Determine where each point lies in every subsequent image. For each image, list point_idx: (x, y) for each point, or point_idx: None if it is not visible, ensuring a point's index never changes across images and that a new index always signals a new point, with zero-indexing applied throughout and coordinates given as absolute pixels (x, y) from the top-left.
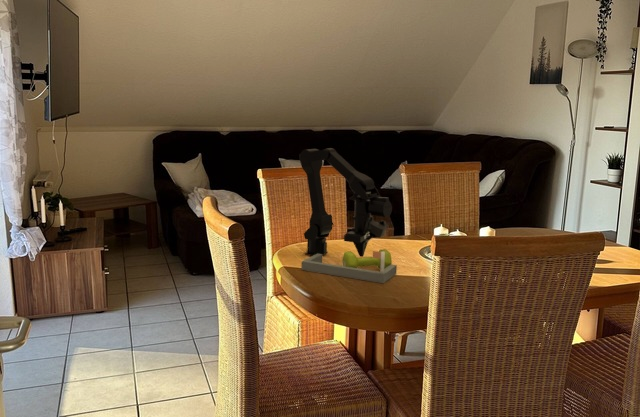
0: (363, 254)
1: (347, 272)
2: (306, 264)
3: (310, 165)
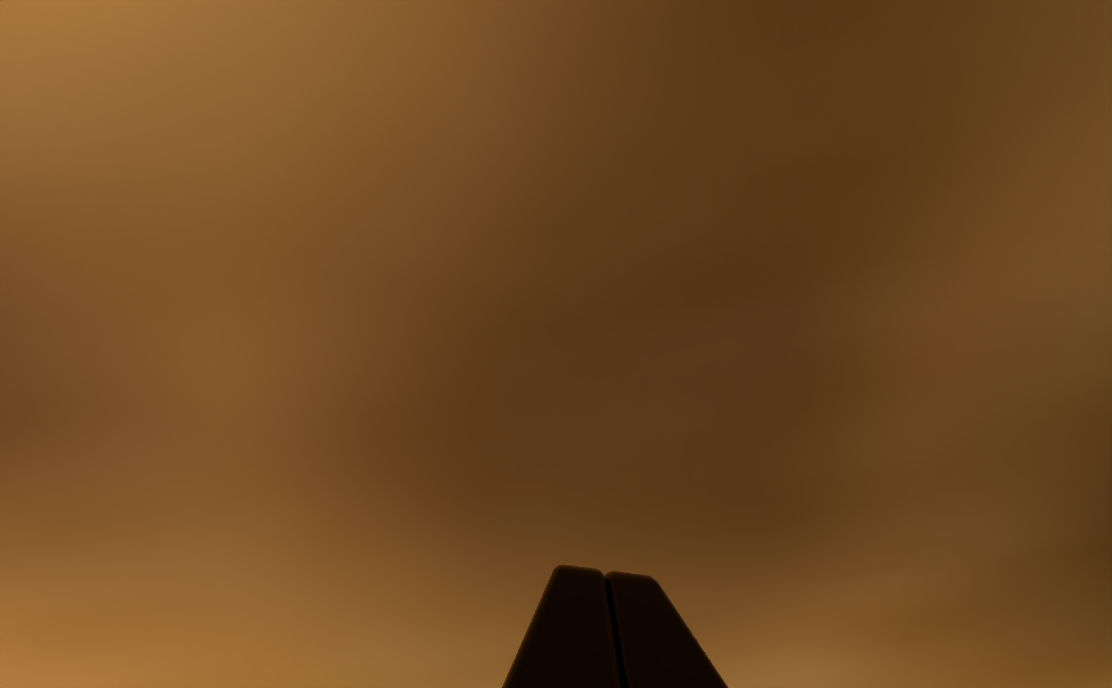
0: (601, 622)
1: None
2: None
3: None
